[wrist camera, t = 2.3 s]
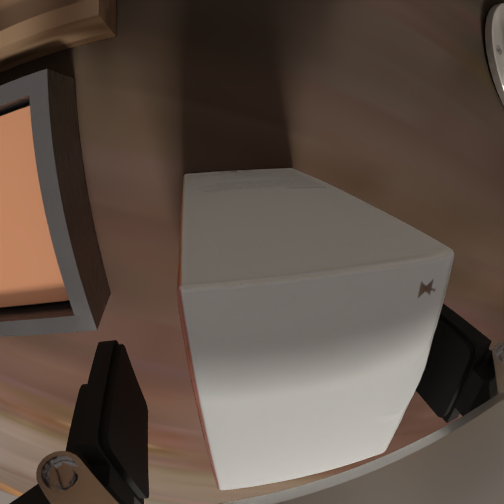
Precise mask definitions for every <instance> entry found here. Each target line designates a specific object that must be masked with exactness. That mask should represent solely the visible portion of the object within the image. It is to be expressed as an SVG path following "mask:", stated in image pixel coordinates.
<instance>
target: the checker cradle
mask: <svg viewBox="0 0 504 504" xmlns="http://www.w3.org/2000/svg"><path fill="white" fill-rule="evenodd" d="M28 106H30V114H31V126H32V136H33V144H34V152H35V160H36V166H37V173H38V179H39V185H40V190H41V195H42V201H43V205H44V210H45V215H46V219H47V224H48V228H49V232H50V236H51V240H52V244H53V248H54V252H55V255H56V259H57V262H58V266H59V269H60V273H61V276H62V279H63V283H64V286H65V289H66V292H67V295H68V298H69V300H67V301H58V302H49V303H40V304H30V305H20V306H10V307H0V337H2V336H22V335H39V334H54V333H68V332H80V331H91V330H97V329H98V326H99V323H100V321H101V318H102V315H103V312H104V309H105V307H106V304H107V301H108V299H109V296H110V290H109V286H108V282H107V279H106V275H105V271H104V267H103V263H102V259H101V255H100V251H99V246H98V242H97V238H96V233H95V229H94V224H93V219H92V214H91V209H90V203H89V198H88V192H87V186H86V180H85V174H84V167H83V160H82V153H81V145H80V136H79V127H78V116H77V104H76V89H75V79H74V78H71V77H69V76H66V75H63V74H61V73H58V72H55V71H53V70H50V69H44V70H41V71H38V72H35V73H32V74H30V75H27V76H24V77H21V78H19V79H16V80H13V81H11V82H8V83H6V84H3V85H1V86H0V116H3V115H5V114H8V113H11V112H13V111H16V110H19V109H22V108H25V107H28Z"/></svg>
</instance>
